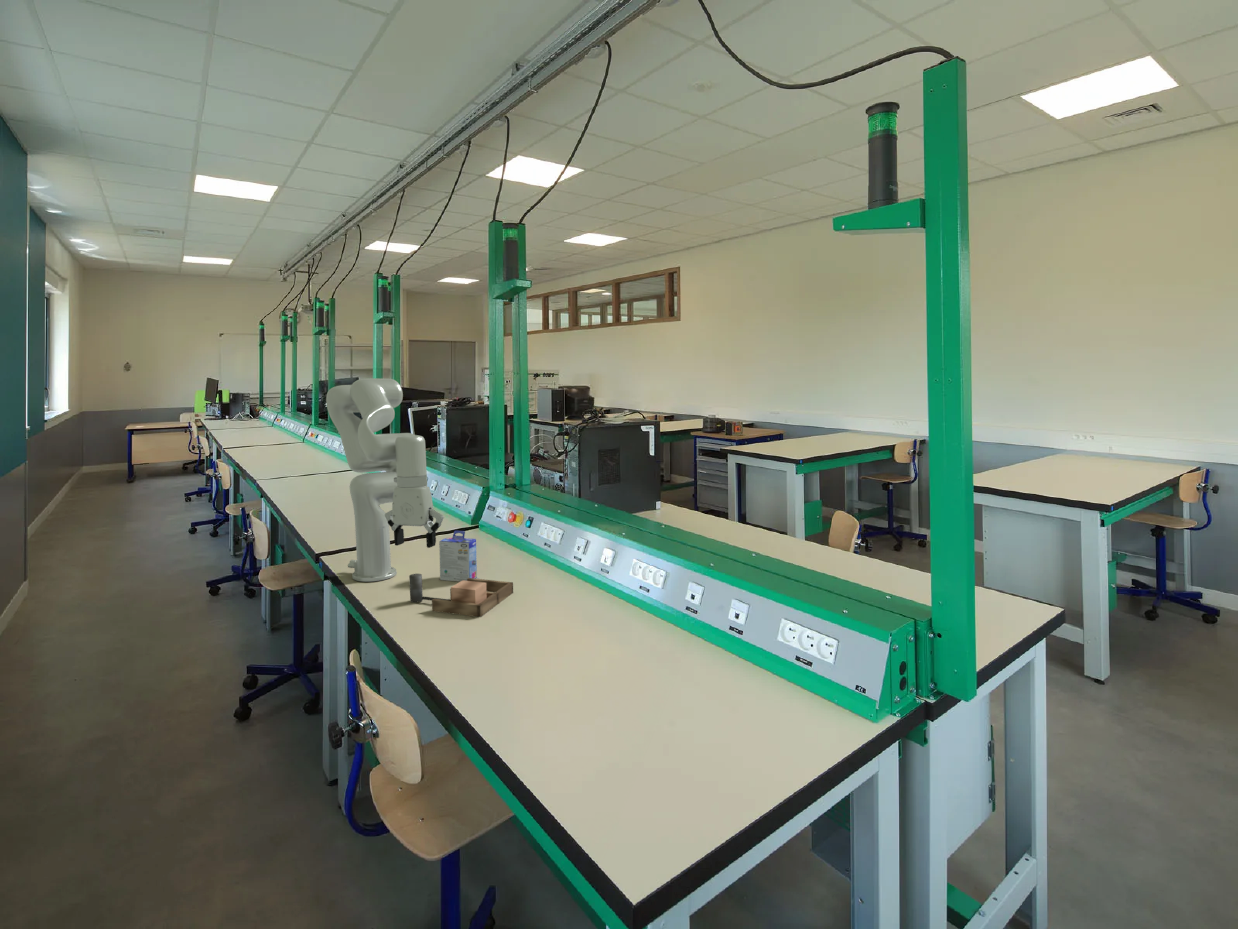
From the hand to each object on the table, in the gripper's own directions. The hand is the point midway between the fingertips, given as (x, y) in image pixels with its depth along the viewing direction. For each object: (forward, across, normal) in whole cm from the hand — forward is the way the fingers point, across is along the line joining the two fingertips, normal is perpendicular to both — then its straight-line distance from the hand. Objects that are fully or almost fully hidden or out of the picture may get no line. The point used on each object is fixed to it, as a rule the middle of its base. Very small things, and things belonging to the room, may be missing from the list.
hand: (415, 545), depth 166 cm
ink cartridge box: (+16, 0, +21) cm, 26 cm away
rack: (+16, +14, +5) cm, 22 cm away
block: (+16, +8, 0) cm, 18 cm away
